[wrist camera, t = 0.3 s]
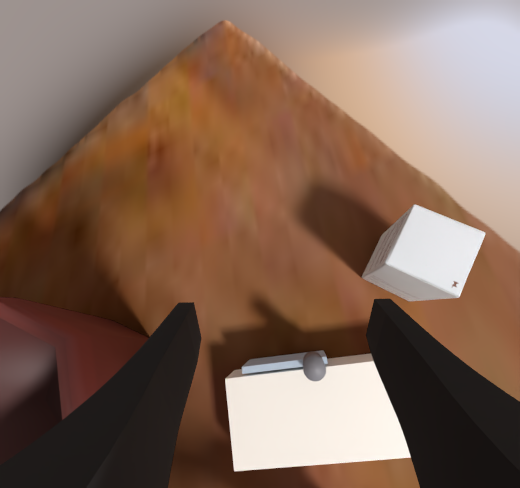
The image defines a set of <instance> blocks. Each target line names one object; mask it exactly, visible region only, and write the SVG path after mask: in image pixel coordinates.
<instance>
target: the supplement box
mask: <svg viewBox="0 0 520 488" xmlns="http://www.w3.org/2000/svg"><path fill="white" fill-rule="evenodd" d="M484 236H485V232H483V231H480V230H478V229H475V228H473V227H470V226H468V225H465V224H463V223H460V222H458V221H455V220H453V219H450V218H448V217H445V216H443V215H440V214H438V213H435V212H433V211H430V210H428V209H425V208H423V207H420V206H418V205H415V204H414V205H413V206H412V207H411V208H410V209H409V210H408V211H407V212H406V213H405V214H404V215H402V216H401V217H400V218H399V219H398V220H397V221H396V222H395V223H394V224H393V225H392V226H391V227H390V228H389V229H388V230H386V231H385V232H384V233H383V234H382V235H381V237H380V240H379V242H378V244H377V246H376V248H375V250H374V252H373V254H372V256H371V258H370V260H369V263H368V265H367V267H366V269H365V271H364V273H363V275H362V278H363V279H365V280H367V281H369V282H371V283H373V284H375V285H377V286H379V287H381V288H383V289H385V290H387V291H389V292H391V293H393V294H395V295H397V296H399V297H401V298H403V299H405V300H408V301H420V300H434V299H447V298H459V297H460V294H461V292H462V289H463V287H464V284H465V282H466V279H467V277H468V274H469V272H470V270H471V267H472V265H473V262H474V260H475V258H476V255H477V253H478V251H479V248H480V246H481V244H482V241H483V239H484Z"/></svg>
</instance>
